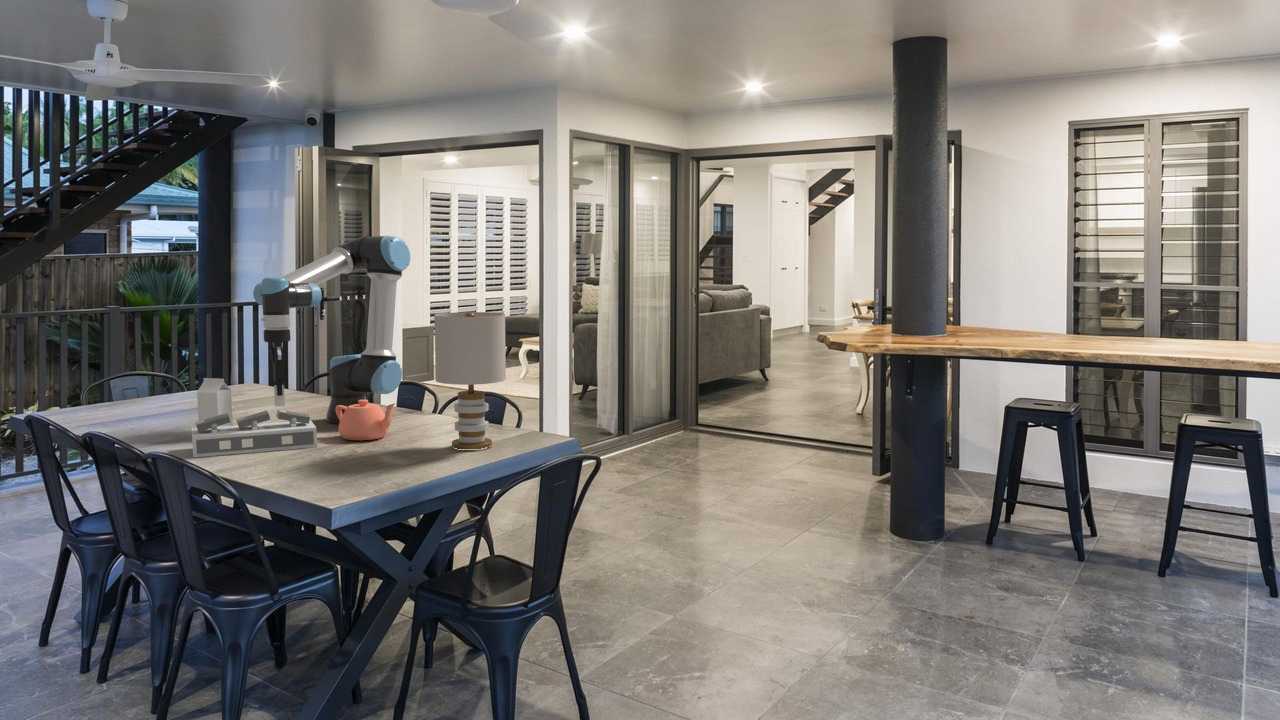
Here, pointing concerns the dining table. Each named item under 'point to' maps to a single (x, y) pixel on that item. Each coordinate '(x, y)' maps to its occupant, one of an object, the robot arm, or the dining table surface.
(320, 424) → the dining table surface
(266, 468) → the dining table surface
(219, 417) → the rocker
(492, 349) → the lamp
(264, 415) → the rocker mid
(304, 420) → the plate
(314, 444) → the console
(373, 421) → the teapot
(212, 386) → the milk carton
